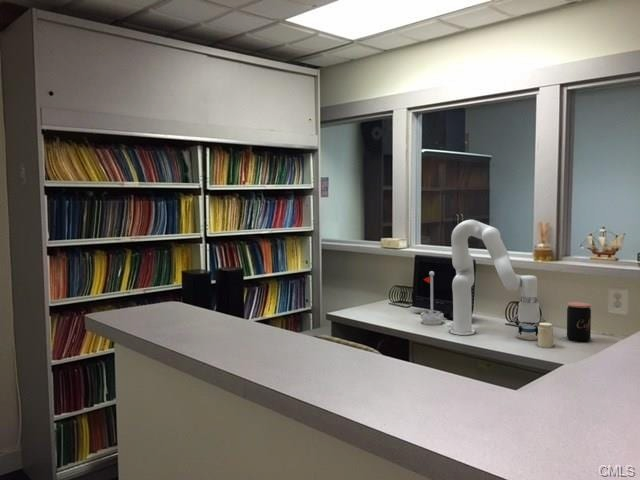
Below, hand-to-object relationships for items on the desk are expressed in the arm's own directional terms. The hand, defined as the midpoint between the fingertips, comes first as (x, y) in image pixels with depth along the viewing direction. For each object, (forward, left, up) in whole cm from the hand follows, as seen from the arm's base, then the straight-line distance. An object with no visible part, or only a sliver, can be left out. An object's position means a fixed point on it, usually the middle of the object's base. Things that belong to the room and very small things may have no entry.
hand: (528, 334), depth 272 cm
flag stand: (-56, +4, -2) cm, 56 cm away
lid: (0, 0, +3) cm, 3 cm away
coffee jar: (+21, +10, -2) cm, 23 cm away
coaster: (0, 0, -2) cm, 2 cm away
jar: (+11, -10, -2) cm, 15 cm away
